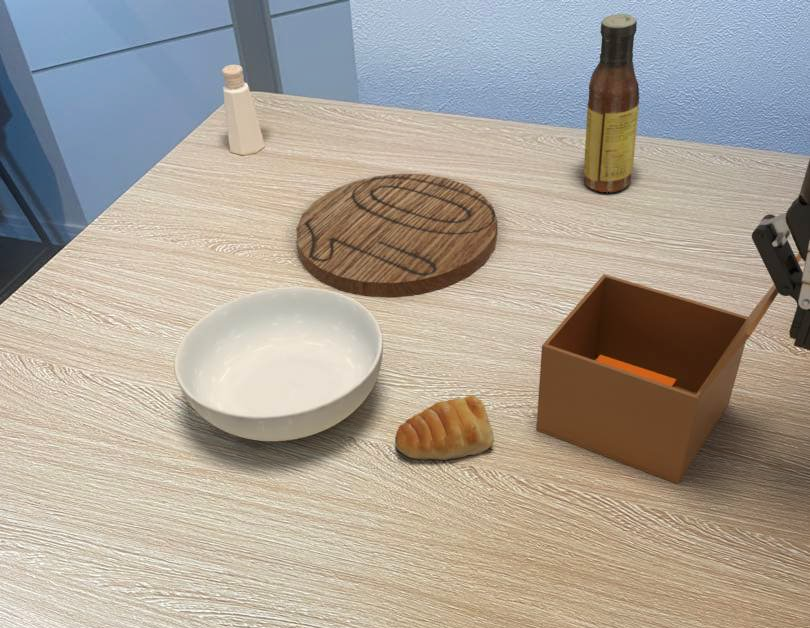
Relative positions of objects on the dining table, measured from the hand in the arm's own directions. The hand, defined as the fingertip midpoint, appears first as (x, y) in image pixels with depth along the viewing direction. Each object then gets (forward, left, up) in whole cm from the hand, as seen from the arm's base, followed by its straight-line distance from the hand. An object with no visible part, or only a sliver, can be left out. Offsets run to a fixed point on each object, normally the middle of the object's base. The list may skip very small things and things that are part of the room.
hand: (806, 343), depth 75 cm
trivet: (+52, -16, -14) cm, 57 cm away
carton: (+13, 0, -14) cm, 19 cm away
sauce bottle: (+35, -40, -14) cm, 55 cm away
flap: (+5, 0, 0) cm, 5 cm away
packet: (+14, 0, -14) cm, 20 cm away
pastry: (+27, +12, -14) cm, 33 cm away
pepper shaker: (+85, -26, -14) cm, 90 cm away
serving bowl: (+45, +15, -14) cm, 50 cm away
